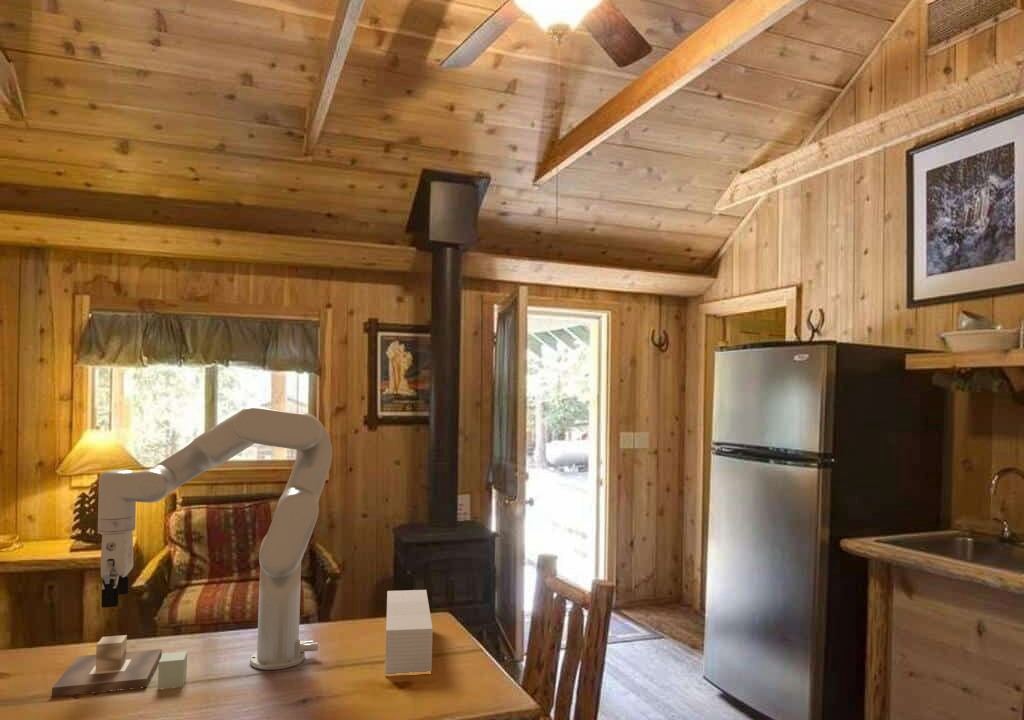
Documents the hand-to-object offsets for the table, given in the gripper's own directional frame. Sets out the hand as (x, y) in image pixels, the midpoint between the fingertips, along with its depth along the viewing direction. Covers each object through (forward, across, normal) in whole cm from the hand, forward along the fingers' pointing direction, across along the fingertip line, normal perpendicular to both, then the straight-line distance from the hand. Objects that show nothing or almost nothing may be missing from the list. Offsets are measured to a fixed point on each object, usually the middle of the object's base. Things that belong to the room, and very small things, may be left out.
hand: (115, 600), depth 159 cm
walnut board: (+17, 0, +1) cm, 17 cm away
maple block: (+15, 0, +1) cm, 15 cm away
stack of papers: (+19, -1, -66) cm, 69 cm away
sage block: (+17, -8, -13) cm, 23 cm away
